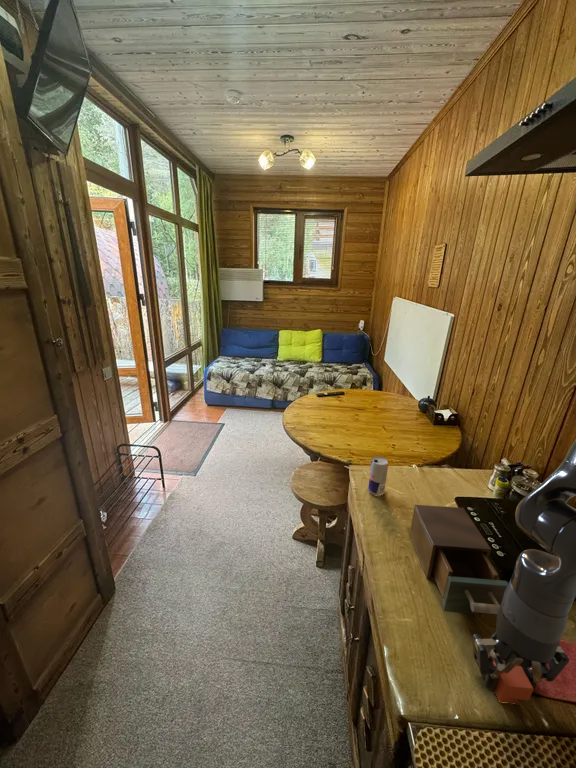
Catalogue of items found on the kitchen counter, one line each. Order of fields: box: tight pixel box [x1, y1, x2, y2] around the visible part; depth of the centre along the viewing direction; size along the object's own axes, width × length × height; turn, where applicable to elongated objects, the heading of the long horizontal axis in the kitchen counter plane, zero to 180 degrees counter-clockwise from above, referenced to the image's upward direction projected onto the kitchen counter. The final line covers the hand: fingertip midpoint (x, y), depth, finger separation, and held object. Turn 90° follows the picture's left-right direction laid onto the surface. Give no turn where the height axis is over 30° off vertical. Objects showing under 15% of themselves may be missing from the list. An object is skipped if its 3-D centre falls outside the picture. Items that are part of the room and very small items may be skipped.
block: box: [493, 661, 534, 705], centre depth 52 cm, size 4×4×4 cm
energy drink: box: [367, 456, 389, 497], centre depth 101 cm, size 5×5×12 cm
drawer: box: [432, 548, 509, 615], centre depth 67 cm, size 17×11×8 cm
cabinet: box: [409, 504, 492, 580], centre depth 77 cm, size 14×13×10 cm
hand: (505, 686), depth 53 cm, fingers open, 5 cm apart
